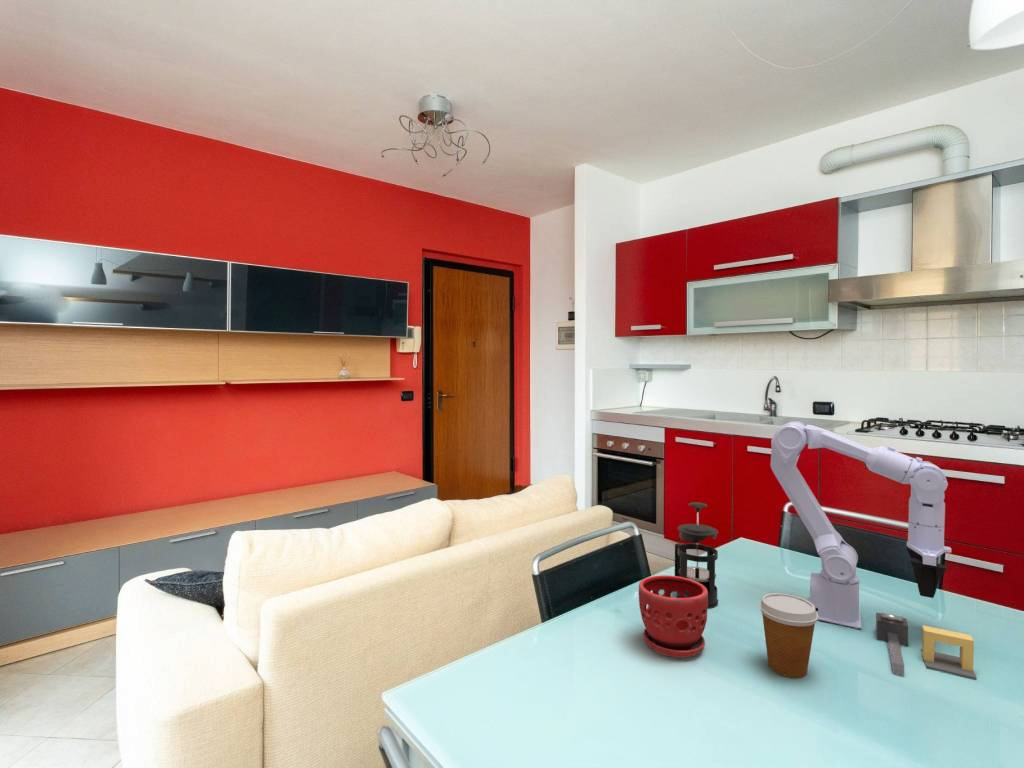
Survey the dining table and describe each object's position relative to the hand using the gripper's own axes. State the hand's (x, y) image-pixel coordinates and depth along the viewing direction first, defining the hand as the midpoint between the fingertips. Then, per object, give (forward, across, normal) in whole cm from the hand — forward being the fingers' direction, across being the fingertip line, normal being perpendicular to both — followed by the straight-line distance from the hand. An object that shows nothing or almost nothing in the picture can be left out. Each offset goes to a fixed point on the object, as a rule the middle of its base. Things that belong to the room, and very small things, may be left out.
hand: (924, 589), depth 106 cm
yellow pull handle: (+9, -10, -3) cm, 14 cm away
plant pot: (+10, -31, +42) cm, 53 cm away
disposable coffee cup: (+10, -28, +22) cm, 37 cm away
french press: (+10, -7, +43) cm, 45 cm away
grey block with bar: (+10, -11, +5) cm, 16 cm away
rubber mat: (+10, -10, -3) cm, 14 cm away
